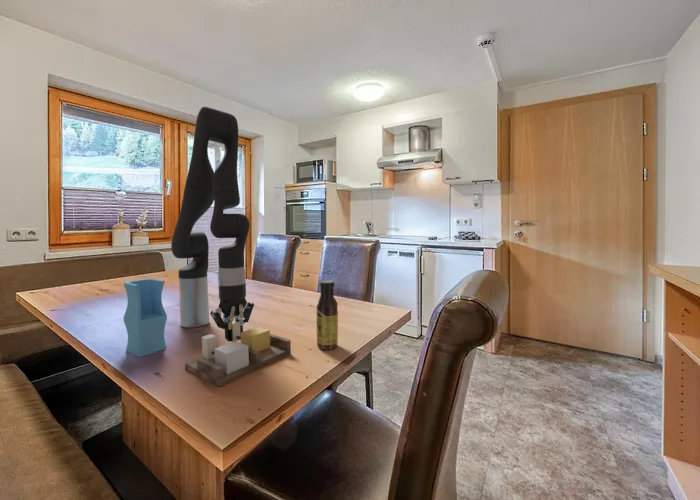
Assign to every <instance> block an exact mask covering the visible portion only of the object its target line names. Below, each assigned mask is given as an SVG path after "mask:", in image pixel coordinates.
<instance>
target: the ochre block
mask: <svg viewBox="0 0 700 500" xmlns="http://www.w3.org/2000/svg"><path fill="white" fill-rule="evenodd" d="M232 332H233V341H231V342H230V343H232V342H235V341H237V342H239V341H240V343H242V344H245V345H248V348H249V349H252V350H255V351H257V352H260V351H262V350H265V349H267V348H270V334H271V330H270V329H268V328H264V327H260V326H256V327H253V328H250V329H247V330H243V332H241V337H240V322H239V321H236V320H235V319H234V320H233V322H232Z"/></svg>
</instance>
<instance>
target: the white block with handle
mask: <svg viewBox="0 0 700 500" xmlns="http://www.w3.org/2000/svg"><path fill="white" fill-rule="evenodd" d="M201 348H202V353H201V354H202V357H203V358H206V359H211V358H213V357H215V364H216V365H218V366H220V367H222V368H223V373H225V374H230V373H232V372H234V371H236V370H239V369H241V368H243V367H246V366H248V365H249V354H248V345H245V344H242V343H241V341H235V342H229V343H226V344H224V345H221V346H218V347H217V335H215V334H211V333H210V334H206V335H204V336H201Z"/></svg>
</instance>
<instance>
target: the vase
mask: <svg viewBox="0 0 700 500" xmlns="http://www.w3.org/2000/svg"><path fill="white" fill-rule="evenodd" d="M164 285H165V280H162V279H157V278H143V279H137V280H130V281H129V280H128V281H123V286H124V290H125V291H126V296H127V297H126V298H127V306H126V310H125V312H124V315H123V322H124V325H125V328H126V333H127V345H126V349H125V352H127V353H129V354H131V355H133V356H135V357H144V356H145V357H146V356H148V355H151V354H154V353H157V352H160V351H163V350H166V349H167V345H166V344H167V343H166V340H165V328H166V324H167V320H168V315H167V312H166V311H165V307H164V305H163V302H162V294H163V288H164Z"/></svg>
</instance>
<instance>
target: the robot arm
mask: <svg viewBox="0 0 700 500" xmlns="http://www.w3.org/2000/svg"><path fill="white" fill-rule="evenodd" d="M194 128H195V129H194V135H193V144H192V151H191V158H190V163H189V166H188V172H187V176H186V180H185V185H184V191H183V196H182V202H181V206H180V211H179V215H178V218H177V222H176V225H175V228H174V230H173V234H172V238H171V245H170V246H171V253H172V255H173V257H174V258H176V259H180V260H181V259H192V260H191V262H190V263H188V264H187V265H186V266H184V267H181V268H180V269H179V270H178V288H179V289H178V290H179V313H180V315H179V316H180V326H181V327H183V328H189V329H190V328H198V327H203V326H206V325H207V324H209V323H210V316H211V317H212V320H213V321H214V322H215V324H216V326H217V328H219V329H222V330H224V339H225V340H226V341H228V342H229V343H232V342H231V341H233V332H232V322H233V321H234V320H236V321H239V322H240V337H241V332H243V331H244V325H245V324H246V323H248V322H249V321H250V318H251V315H252V312H253V309H254V307H255V303H254V302H249V301H247V299H246V296H247V281H246V270H245V248H246V244H247V240H248V236H249V233H250V232H249V231H250V227H251V226H250V220H249V219H248V217H247V215H246V214H244V213H225V212H224V211H225V210H229V209H233V208H236V207H238V206H239V205H240V203H241V197H240V189H239V181H238V179H239V178H238V158H239V157H238V156H239V124H238V119H237V118H236V116H235V115H233V114H231V113H228V112H225V111H222V110H221V109H216V108H213V107H209V106H207V105H206V106H202V107H200V109H199V110H198V113H197V116H196V120H195V127H194ZM209 141H211V142H215V143H218V144H219V143H220V144H222V145H224V154H223V157H222V159H221V160H220V162H219V164H218V166H217V167H216V168H215V170H214V168H213V166H212V164H211V161H210V157H209V151H208V150H209V149H208V146H209ZM212 205H213V212H212V214H211V215H212V216H211V220H210V226H209V229H210V233H211V234H212V235H213V236H214V237H215V238H216V239H235V240H234V241H233V243H232V244H230V245H227V246H222V247H220V248H219V249H218V251H217V253H218V255H217V256H218V258H217V260H218V275H217V276H218V277H217V278H218V280H217V281H218V299H219V304H218V307H217V308H216V309H215V310H211V311H210V307H209V305H210V304H209V303H210V302H209V283H208V281H209V280H208V271H209V254H210V253H209V251H210V250H209V249H210V248H209V240H208V237H207V234H206V233H205V232H203V231H193V228H194V226H195V225H196V223H197V221H198V220H199V219H200V218H201V217H202V216H203V215H204V214H205V213H207V211H208V210H210V208H211V207H212Z"/></svg>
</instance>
